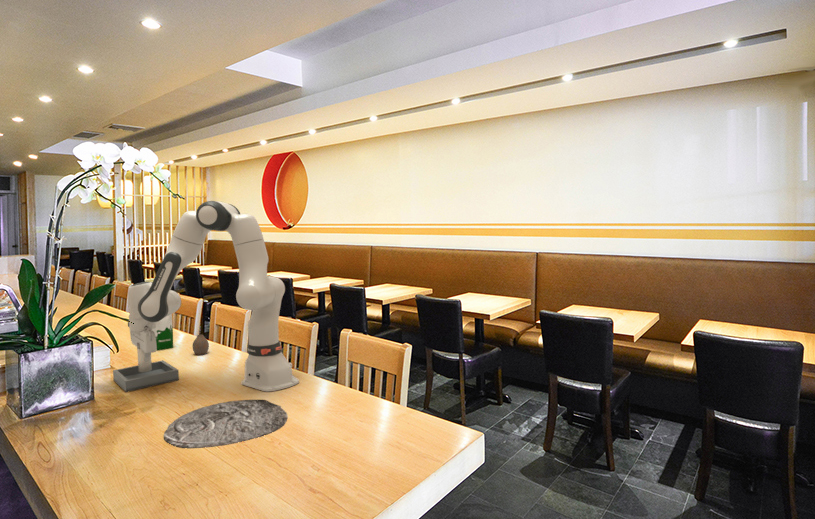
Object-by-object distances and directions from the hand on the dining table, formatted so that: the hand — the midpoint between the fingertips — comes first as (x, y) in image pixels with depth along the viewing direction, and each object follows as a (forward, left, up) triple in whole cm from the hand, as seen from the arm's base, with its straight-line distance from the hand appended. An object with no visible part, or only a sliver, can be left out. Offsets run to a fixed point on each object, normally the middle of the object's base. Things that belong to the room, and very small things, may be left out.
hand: (144, 359), depth 182 cm
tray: (0, 0, -8) cm, 8 cm away
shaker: (0, 0, -4) cm, 4 cm away
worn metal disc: (-60, -6, -9) cm, 61 cm away
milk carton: (+46, -20, -8) cm, 51 cm away
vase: (+22, -29, -8) cm, 37 cm away
